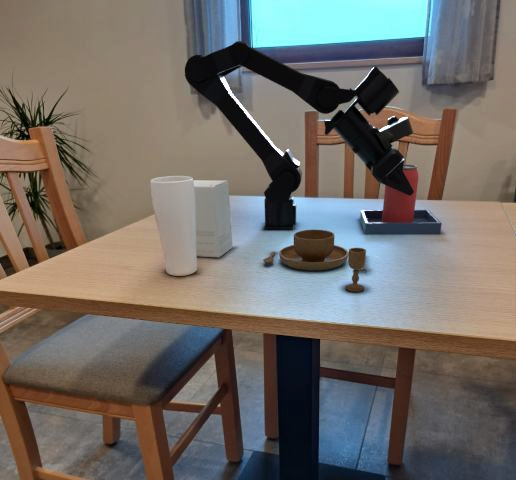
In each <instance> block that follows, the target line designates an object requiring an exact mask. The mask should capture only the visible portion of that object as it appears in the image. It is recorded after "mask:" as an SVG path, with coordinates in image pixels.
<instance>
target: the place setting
mask: <svg viewBox="0 0 516 480" xmlns="http://www.w3.org/2000/svg"><path fill="white" fill-rule="evenodd" d="M335 238H336V237H335V233H334V232H333V231H329V230H325V229H303V230H299V231H296V232H294V233H293V244H292V245H287V246H285V247H283V248H282V249H280V250H279V252H278V255H279V259H280V261H281V262H282V263H283V264H284V265H286V266H288V267H290V268H292V269H295V270H301V271H307V272H308V271H311V272H314V271H315V272H316V271H318V272H319V271H327V270H332V269H335V268H337V267H340V266H342V265H343V264H344V263H346V261H347V263H348V266H349V268H350V269H352V276H351V282H352V283H350V284H347V285H346V286H345V287H344V290H346V291H347V292H351V293H360V292H363V291H364V290H365V286H364V285H361V284H359V283H358V282H359V280H360V275H359V272H360V271H368V270H367V268H366V267H365V263H366V258H367V249H366V248H363V247H350V248H348V249H346V248H345V247H342V246H340V245H336V244H335ZM275 254H276V251H275V250H273V251H272V252H271V253H270V255H269V256H268V257H266V258H264V259H262V262H263V263H264V264H272V263H273V262H274V261H275V258H273V257H274V255H275Z"/></svg>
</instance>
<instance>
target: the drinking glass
mask: <svg viewBox="0 0 516 480" xmlns="http://www.w3.org/2000/svg"><path fill="white" fill-rule="evenodd" d="M193 180H194V178H193V176H189V175H168V176H167V175H166V176H159V177H154V178H151V179H150V180H149V184H150V193H151V194H150V196H151V202H152V203H151V205H152V208H153V214H154V220H155V223H156V227H157V233H158V235H159V236H158V237H159V241H160V246H161V251H162V256H163V260H164V268H165V272H166V273H167V274H168V275H169V276H172V277H173V276H174V277H185V276H186V277H187V276H190V275H193V274H194V273H196V272H197V271H198V256H197V245H196V197H195V188H194V181H193Z"/></svg>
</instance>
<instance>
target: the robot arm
mask: <svg viewBox="0 0 516 480" xmlns="http://www.w3.org/2000/svg"><path fill="white" fill-rule="evenodd" d="M241 68H245V69H247V70H249V71H251V72H253V73H254V74H257V75H259V76H261V77H263V78H264V79H267V80H269V81H270V82H272V83H275V84H277V85H278V86H281V87H283V88H285V89H286V90H288V91H290V92H292V93H294V94H295V95H296V96H297V97H299V98H300V99H301V100H302V101H303V102H305V103H306V104H307V105H309V106H310V107H311V108H313V109H314V110H315V111H316V112H318V113H320V114H323V115H328V114H331V113H333V112H335V111H336V110H337V109H338V107H339V106H340V105H343V104H347V103H350V102H351V101H353V99H354V98H356V99H355V100H354V101H353V102H352V103H351V104H350V105H349V106H348V107H347V109H345V110H344V111H343V110H342V109H341V108H339V109H338V111H337V112H336V113H335V114H334V115H333V116H332V117H331V118H330V119H324V120H323V123H324V135H325V136H328V135H329V134H330V133H331V132H332V131H335V132H336V133H337V135H338V136H339V137H340V138H341V139H342V140H343V141H344V143H345V144H346V145H347V146H348V147H349V148H350V149H351V150H352V152H353V153H354V154H355V155H357V157H358V158H359V159H360V160H361V161H362V163H364V165H365V167H366V168H367V169H368V171H370V174H371V175H372V177H373V178H374V179H375V180H376V181H377V182H378V183H379V184H383V185H384V186H385V185H387V186H389V187H391V188H393V189H396V190H398V191H400V192H402V193H405V194H407V195H409V196H411V195H412V194H413V193H414V191H413V189H412V187H411V185H410V183H409V181H408V179H407V177H406V176H405V174H404V172H403V165H405V161H406V160H405V156H404V155H403V154H402V152H400V150H398V149H397V148H392V147H393V144H392V143H395V142H397V141H399V140H401V139H403V138H405V137H409V136H411V135H413V134H414V130H413V127H412V124H411V121H410V118H409V117H408V116H404V117H401V118H398V117H397V116H395V115H393V116H391V117H389V118H387V121H386V125H385V126H383V127H381V129H378V127H377V126H373V125H372V124H371V122H370V121H369V120H368V119H367V118H366V117H365V116H364V114H362V112H361V111H360V110H359V108H357V106H356V105H358V106H359V107H360V108H361V109H362V111H363V112H364V113H365V114H366V115H367V116H368V117H371V115H373V114H374V115H375V116H376V117H377V116H378V115H379V114H380V113H381V112H382V111H383V110H384V109H385V108H386V107H387V106H388V105H389V104H390V103H391V102H392V101H393V100H394V98H395V97H397V96H398V95H399V94H400V90H399V88H398V87H397V86H396V85H395V83H394V82H393V80H392V79H391V78H390V77H387V75H385V74H384V73H383V72H382V71H381V70H380V69H379V67H377V66H374V67H373V68H371V70H370V71H369V72H368V74H367V76H366V77H365V78H364V79H363V80H362V81H361V82H360V84H358V85H357V86H356V87H355V89H352V87H349V88H340V86H339V85H338V84H337V83H335V81H332V80H329V79H325V78H322V77H318V76H315V75H312V74H308V73H303V72H301V71H298V70H297V69H294V68H292V67H290V66H289V65H287V64H284V63H283V62H281V61H279V60H277V59H274V58H273V57H271V56H269V55H267V54H265V53H263V52H261V51H260V50H257V49H255V48H253V47H251V46H250V45H249V44H247V43H246V42H245V41H243V40H237V41H235V42H234V43H232V44H229V46H226V47H224V48H221V49H219V50H215V51H213V52H211V53H208V54H206V55H202V54H195V55H192V56H191V57H189V58H188V59H187V61H186V63H185V66H184V78H185V80H186V82H187V84H189V86H191V87H192V88H193V89H194V90H195V91H196V92H198V93H199V94H200V95H201V96H202V97H204V98H205V99H207V100H208V101H209V102H210V103H212V104H213V105H214V106H215V107H216V108H218V110H219V111H220V113H222V114H223V116H224V117H225V118H226V119H227V121H228V122H229V123H230V124H231V125H232V127H233V128H234V129H235V130H236V131H237V133H238V134H239V135H240V136H241V137H242V139H243V140H244V141H245V142H246V143H247V144H248V146H249V147H250V148H251V150H252V151H253V152H254V153H255V154H256V156H258V158H259V159H260V160H261V162H262V164H263V166H264V168H265V170H266V173H267V174H268V176H269V178H270V180H271V182H270V183H269V184H268V185H267V187H266V188H265V190H264V192H263V196H264V226H263V229H264V230H293V229H294V227H295V225H297V204H296V203H295V197H294V196H291V195H292V193H294V192H295V191H297V190H298V189H299V187H300V185H301V182H302V178H303V172H302V169H301V161H299V160H297V159H296V158H295V157H294V155H293V153H292V151H291V150H290V148H287V149H286V150H285V151H284V152H283V151H282V150H281V149H279V148H277V147H276V146H275V144H274V143H273V141H271V139H270V138H269V136H268V135H267V134H266V133H265V132H264V130H262V128H261V127H260V126H259V125H258V123H257V122H256V120H254V119H253V117H252V116H251V115H250V114H249V112H248V111H247V109H245V107H244V106H243V105H242V104H241V102H240V101H239V100H238V99H237V97H236V96H235V94H234V93H233V92H232V90H231V88H230V85H229V84H228V82H227V80H226V78H225V77H226V76H227V75H229V74H231V73H233V72H235V71H236V70H239V69H241Z"/></svg>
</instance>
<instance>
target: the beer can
mask: <svg viewBox="0 0 516 480" xmlns="http://www.w3.org/2000/svg"><path fill="white" fill-rule="evenodd" d="M403 172H404V174H405V176H406V177H407V179H408V181H409V183H410V185H411V187H412V189H413V191H414V193H413V194H412V195H411V196H409V195H407V194H405V193H402V192H400V191H398V190H396V189H393V188H391V187H389V186H387V185H384V193H383V206H382V210H383V214H382V223H413V218H414V210H416V209H415V208H416V201H417V193H418V185H419V178H420V177H419V172H418V165H415V164H404V165H403Z"/></svg>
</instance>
